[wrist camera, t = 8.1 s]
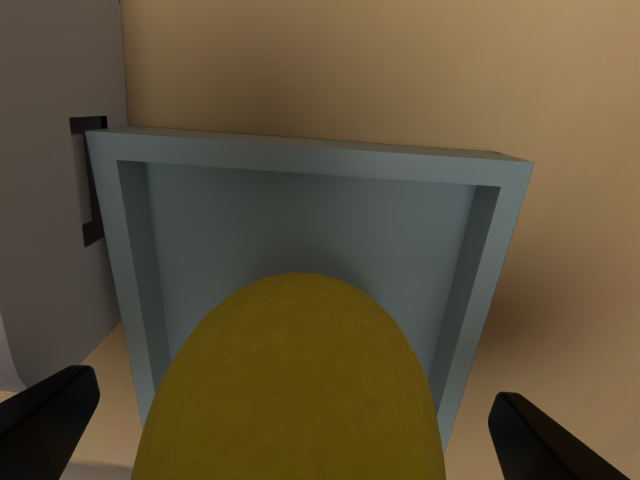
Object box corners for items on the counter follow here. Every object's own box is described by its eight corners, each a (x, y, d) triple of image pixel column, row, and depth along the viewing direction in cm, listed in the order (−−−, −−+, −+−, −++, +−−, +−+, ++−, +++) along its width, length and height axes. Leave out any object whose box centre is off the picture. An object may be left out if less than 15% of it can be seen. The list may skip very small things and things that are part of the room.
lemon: (417, 248, 10) (717, 714, 2) (364, 385, 12) (433, 860, 4) (230, 205, 9) (-135, 616, 2) (209, 356, 11) (-1, 831, 4)
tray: (496, 151, 9) (534, 162, 8) (427, 415, 13) (442, 460, 11) (128, 126, 9) (84, 130, 7) (168, 399, 13) (145, 443, 11)
